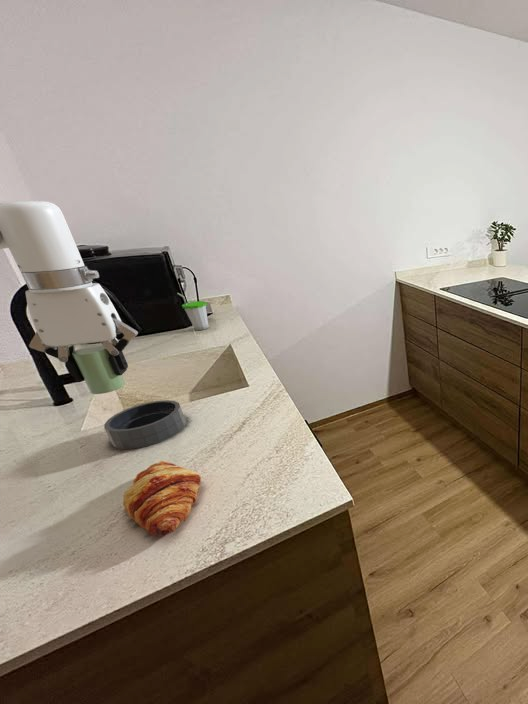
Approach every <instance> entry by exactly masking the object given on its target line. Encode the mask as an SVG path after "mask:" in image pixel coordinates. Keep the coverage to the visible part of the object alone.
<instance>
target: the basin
mask: <svg viewBox="0 0 528 704" xmlns="http://www.w3.org/2000/svg"><path fill="white" fill-rule="evenodd" d="M183 412H184V411H183V410H182V407H181V404H180V402H178V401H176V400H169V399H166V400H165V399H164V400H154V401H148V402H144V403H141V404H136V405H134V406H132V407H129V408H126V409H124V410H122V411H119V412H117V413H116V414H114V415H112V416H111V417H110V418H108V419H107V420H106V421H105V422H104V425H103V427H104V431H105V432H106V435H107V436H108V439H109V440H110V443H111V444H112V445H111V446H113V447H114V448H115V449H117V450H118V449H119V450H135V449H141V448H145V447H149V446H152V445H155V444H158V443H161V442H163V441H165V440H169V439H170V438H172V437H173V436H175V435H176V434H178V433H180V432H181V431H182V430H183V429H184V428H185V427H186V424H187V420H186V418H185V415H184V413H183Z"/></svg>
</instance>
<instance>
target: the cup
mask: <svg viewBox="0 0 528 704" xmlns="http://www.w3.org/2000/svg"><path fill="white" fill-rule="evenodd" d="M176 294H177V296H180V297H181V298H182V299H183V302H184V303H183V304H182V305H181V308H182V309H184V311H185V313H186V315H187V317H188V319H189V320H190V323H191V324H192V327H193V328H194V331H205V330H208V329H210V327H209V320H208V313H207V307H206V306H207V302H206V301H204V300H199V301H198V300H197V301H190V302H187V300H186V298H185V295H183V294H181V293H179V292H177V293H176Z"/></svg>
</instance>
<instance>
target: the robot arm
mask: <svg viewBox="0 0 528 704" xmlns="http://www.w3.org/2000/svg"><path fill="white" fill-rule="evenodd" d="M75 241H76V240H75V239H74V237H73V235H72V232H71V230H70V227H69V225H68V222H67V220H66V217H65V215H64V213H63V212H62V209H61V208H60V207H59V206H58V205H57V204H55V203H53V202H51V201H46V200H5V201H0V250H3V249H8V250H9V251H10V253H11V256H12V257H13V259H14V262H15V264H16V266H17V268H18V270H19V272H20V274H21V276H22V278H23V280H24V282H25V284H26V286H27V288H28V290H25V298H26V304H27V309H28V312H29V315H30V318H31V321H32V323H33V326H34V329H35V331H36V332H35V334H34V335H33V337H32V338H31V341H30V342H29V344H28V347H29V348H30V349H33V350H36V351H38V352H42V353H45V354H46V355H48V356H51V357H53V358H55V359H58V361H59V362H61V363H64V364H65V366H66V368H67V370H68V373H69V374H70V376H71V377H73V378H74V380H75V381H76V382H82V381H83V380H84V378H83V376H82V374H81V372H80V370H79V368H78V366H77V363H76V361H75V359H74V357H73V355H72V352H74V351H76V346H78V345H86V344H94V343H95V344H96V343H100V345H103V346H104V347H105V348H106V349H107V350H108V352H109V353H110V356H109V357H108V358H109V361H110V363H111V365H112V368H113V370H114V372H115V374H116V375H117V376H119V375H122V376H123V374H125V372H126V371H127V370H128V367H129V365H128V362H127V359H126V356H125V355H124V352H123V351H124V350H125V348H126V347H127V346H128V345H129V344H130V342H131V341H132V340H133V339H134V338H135V337H136V336H138V334H139V332H138V331H137V330H136V329H134V328H133V327H131V326H129V325H128V324H126V323H124V322H123V321H122V319H121V317H120V315H119V313H118V311H117V310H116V308H115V306H114V304H113V302H112V301H111V299H110V297H109V296H108V294H107V292H106V291H105V289H103V287H102V285H101V284H100V283H98V282H93V280H95V279H99V278H100V274H99V272H98V270H96V269H94V270H92V269H89V268H88V266H87V265H85V263H84V260H83V258H82V256H81V253H80V251H79V249H78V246H77V244H76V242H75ZM120 334H123V336H122V337H121V338H120V339H118V338H117V335H120Z"/></svg>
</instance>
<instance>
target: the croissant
mask: <svg viewBox="0 0 528 704" xmlns="http://www.w3.org/2000/svg"><path fill="white" fill-rule="evenodd" d="M132 482H133V483H132V485H131V486H129V488H128V489H127V490H126V491H125V492H123V493H124V494H123V500H122V505H123V507H124V512H125V513H126V514H127V515H128V516H129V517H130V518H131V519H132V520H134V521H135V522H136V523H137V525H139V527H141V528H143V529H144V530H146V531H147V532H148V533H149V534H150V535H154V536H167V535H170V534H172V533H174V531H175V530H177V529H178V527H179V525H180V524H181V523H182V522H183V521H185V520H186V518H187V517H189V514H190V513H191V510H192V507H193V505H194V504H195V503H196V500H197V496H198V491H199V488H200V485H201V482H202V481H201V475H200V474H199V473H198V472H196V471H193V470H191V469H187V468H185V467H183V466H179V465H176V464H175V463H172V462H168V461H164V460H160V461H159V462H156V463H153V464H151V465H149V467H147V468H146V469H144V470H142V471H140V472H139V473H137V475H136V476H135V478H133V481H132Z"/></svg>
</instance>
